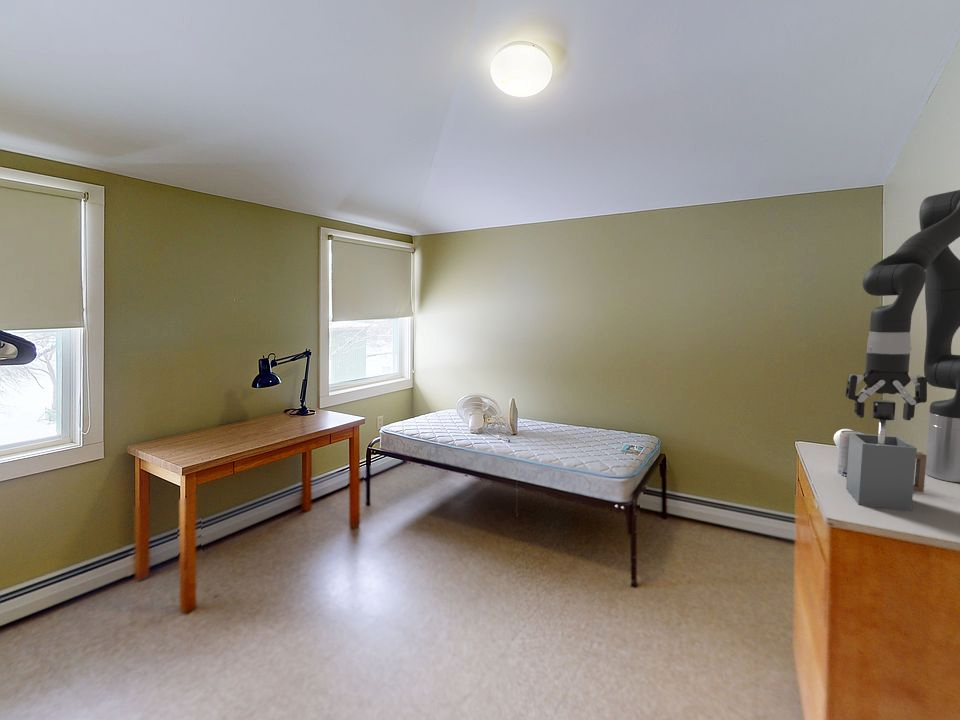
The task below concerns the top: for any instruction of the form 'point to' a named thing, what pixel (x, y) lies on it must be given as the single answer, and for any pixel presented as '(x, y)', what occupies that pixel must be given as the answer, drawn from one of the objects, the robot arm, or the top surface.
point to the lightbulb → (837, 436)
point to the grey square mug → (884, 471)
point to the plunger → (883, 416)
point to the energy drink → (844, 451)
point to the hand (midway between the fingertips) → (882, 418)
